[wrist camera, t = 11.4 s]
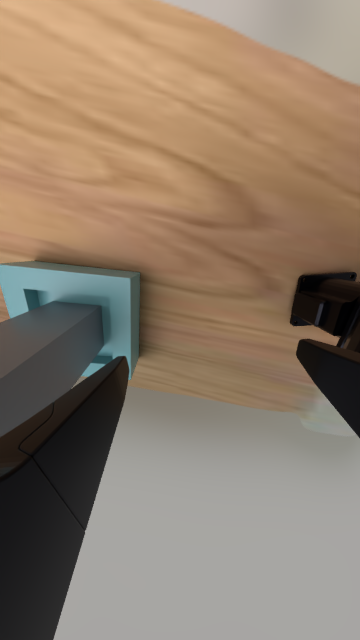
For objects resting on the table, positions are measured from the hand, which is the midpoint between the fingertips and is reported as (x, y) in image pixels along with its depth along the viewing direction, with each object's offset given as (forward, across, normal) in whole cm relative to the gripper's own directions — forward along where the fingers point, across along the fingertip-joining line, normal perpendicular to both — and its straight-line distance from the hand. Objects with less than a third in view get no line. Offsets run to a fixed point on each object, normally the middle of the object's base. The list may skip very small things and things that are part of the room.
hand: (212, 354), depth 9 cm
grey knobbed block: (+10, +13, +2) cm, 17 cm away
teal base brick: (+13, +13, +2) cm, 19 cm away
